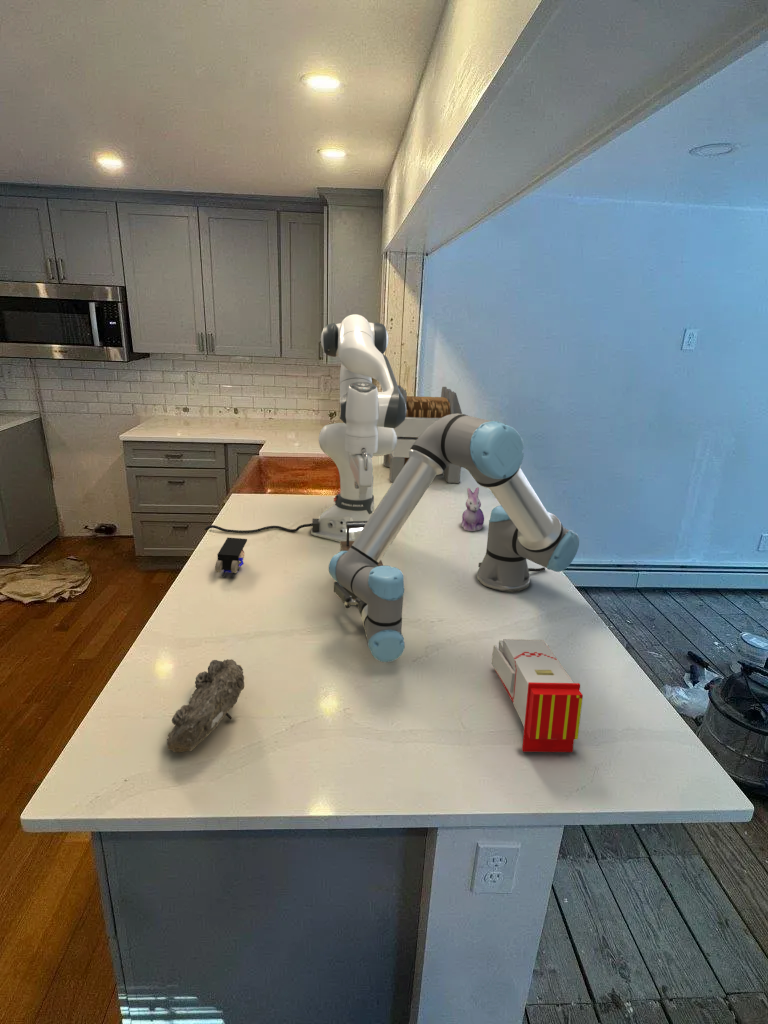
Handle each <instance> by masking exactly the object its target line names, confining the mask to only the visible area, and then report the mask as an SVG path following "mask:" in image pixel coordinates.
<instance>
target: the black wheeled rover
mask: <svg viewBox="0 0 768 1024" xmlns="http://www.w3.org/2000/svg"><path fill="white" fill-rule="evenodd" d="M247 542H248V538H240V537H226V539H225V541H224V543H223V544H222V546H221V547H220V549H219V551H218V552H217V560H216V562H215V564H214V572H215V573H221V577H222V578H224V577H225V576H226V574H227V573H230V574H231V573H232V574H231V578H234V577H235V575H236V573H237V572H239V571H240V567H242V566H243V565H244V564H245V562H244V558H245V551H244V547H245V546H246V544H247Z"/></svg>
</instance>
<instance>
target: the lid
mask: <svg viewBox="0 0 768 1024" xmlns="http://www.w3.org/2000/svg"><path fill="white" fill-rule="evenodd" d="M366 523H367V521H346V528H347V538H346V541H341V542H339V545H340V547H341V549H342V551H348V550H349V549H350V548H351V546H352V544H353V543H354V541H349V528H364V526H365V525H366ZM377 566H384V563H383V561H382V559H381V560H380V561H379V564H378V565H377Z"/></svg>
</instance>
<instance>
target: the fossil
mask: <svg viewBox="0 0 768 1024" xmlns="http://www.w3.org/2000/svg"><path fill="white" fill-rule="evenodd" d="M243 670H244V669H243V667H242V665H240V664H237V662H236V661H235V660H234V659H232V658H231V659H227V658H226V659H224V660H223V661H222V660H217V659H212V660H211V661H210V663H209V665H208V666H207V671H201V672H199V673H198V674H197V675H196V676H195V680H194V684H195V685H194V687H195V689H194V690H193V693H192V694H191V697H190V698H189V700H188V704H184V705H182V706H181V707H180V709H177V710H176V711H175V713H174V715H173V716H172V718H171V723H172V724H173V727H172V730H171V731H170V732H168V734H167V738H166V741H167V742H166V745H167V749H168V750H169V751H173V752H174V753H176V754H178V753H182V752H188V751H189V752H192V751H193V750H195V748H196V747H197V746H199V744H200V743H201V742H203V741H204V740H205V739H206V738H207V737H208V736H209V735H210V734H211V733H212V732H214V730H215V729H217V727H218V726H219V724H220V722H221V721H222V720H223V719H224V718H225V716H226V717H227V719H229V720H233V717H232V715H230V714H229V710H230V709H231V708H234V706H235V704H236V703H237V702H238V699H239V697H240V695H241V693H242V691H243V690H245V689H244V688H245V675H244V671H243Z"/></svg>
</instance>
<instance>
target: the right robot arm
mask: <svg viewBox="0 0 768 1024" xmlns="http://www.w3.org/2000/svg"><path fill="white" fill-rule="evenodd" d="M524 449H525V445H524V440H523V438H522V436H521V434H520V433H519V432H518V431H517V429H515V427H512V426H511V425H507V424H506V423H503V422H501V421H496V420H495V421H494V420H489V419H485V418H481V417H476V416H472V415H468V414H465V413H462V414H458V413H457V414H450V415H447V416H444V417H442V418H440V419H439V420H437V421H435V422H434V423H433V424H432V425H430V426H429V427H428V428H427V429H426V430H425V431H424V432H423V433H422V434H421V435H420V436H419V437H418V439H417V440H416V441H415V443H414V444H413V445H412V447H411V449H410V450H409V456H410V457H409V459H408V461H407V462H406V464H405V465H404V467H403V468H402V470H401V471H400V473H399V474H398V476H397V478H396V479H395V481H394V482H392V484H391V485H390V487H389V488H388V490H387V491H386V493H384V496H383V497H382V498H381V500H380V502H379V503H378V505H377V506H376V508H374V510H373V514H372V515H371V517H370V518H369V520H368V521H367V523H366V525H365V526H364V528H363V529H362V531H361V532H360V534H359V535H358V537H357V538H356V540H355V541H354V543H353V544H352V546H351V548H350V549H349V550H348V551H338V552H337V553H336V554H334V555H333V556H332V557H331V559H330V560H329V563H328V573H329V575H330V577H331V578H332V579H333V580H334V582H333V592H334V594H335V595H336V596H337V597H338V599H340V600H341V602H342V603H343V604H344V608H345V609H349V608H350V607H351V606H355V607H356V608H358V611H359V615H360V619H361V622H362V625H363V629H364V632H365V636H366V641H367V647H368V649H369V651H370V653H371V655H372V657H373V658H374V659H375V660H376V661H378V662H381V663H390V662H391V663H392V662H394V661H396V660H398V659H399V658H400V657H401V656H402V655H403V653H404V651H405V647H406V644H405V638H404V635H403V633H402V627H403V626H402V625H403V608H404V607H403V605H404V594H405V583H404V582H405V581H404V579H405V578H404V577H405V575H404V573H403V572H402V570H401V569H399V568H397V567H396V566H395V567H394V566H391V565H383V566H377V565H378V564H379V561H380V560H381V561H382V558H383V557H384V556H385V554H386V552H387V551H388V549H389V548H390V546H391V545H392V544H393V542H394V540H395V539H396V537H397V536H398V534H399V533H400V531H401V530H402V528H403V526H404V525H405V523H406V522H407V520H408V519H409V517H410V516H411V515H412V513H413V511H414V510H415V508H416V507H417V505H418V503H419V502H420V501H421V499H422V498H423V496H424V495H425V493H426V492H427V490H428V488H429V487H430V485H431V484H432V482H433V481H434V479H435V478H436V477H437V476H438V475H443V474H442V473H443V472H444V470H445V469H446V467H447V466H448V465H450V464H454V465H457V466H460V467H461V468H463V469H466V470H467V471H468V472H469V474H470V475H471V476H472V477H473V480H474V481H475V482H476V483H477V484H478V485H479V486H480V487H483V488H485V489H489V491H490V493H492V495H493V497H494V498H495V499H496V500H497V502H498V503H499V505H497V506H495V507H493V508H492V509H491V512H490V517H489V520H488V531H487V541H486V551H485V555H484V557H483V559H482V561H481V562H478V570H477V581H478V582H479V583H480V584H482V585H483V586H484V587H487V588H489V589H491V590H495V591H498V592H499V591H500V592H505V593H506V592H507V593H508V592H510V593H512V592H513V593H515V592H521V591H523V590H526V589H527V588H528V587H529V586H530V582H531V575H530V572H532V573H533V572H535V573H536V572H537V573H538V572H544V571H546V569H547V570H550V571H553V572H557V573H560V572H562V571H564V570H566V569H568V567H569V566H570V565H571V564H572V562H573V561H574V559H575V558H576V555H577V553H578V550H579V547H580V536H579V535H578V533H577V532H576V531H574V530H573V529H568V528H566V527H565V526H564V525H563V524H562V522H561V520H560V519H559V518H558V516H557V515H556V514H554V513H552V512H549V511H547V509H546V507H545V506H544V504H543V503H542V500H541V499H540V497H539V496H538V494H537V493H536V491H535V489H534V487H533V486H532V485H531V483H530V482H529V480H528V478H527V477H526V475H525V473H524V471H523V470H522V469H521V467H522V463H523V460H524V456H525V452H523V450H524ZM527 561H530V562H533V563H535V564H537V565H539V566H541V567H540V568H535V567H533V568H531V567H530V568H529V565H528V562H527ZM353 598H354V599H355V600H354V599H353Z"/></svg>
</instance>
